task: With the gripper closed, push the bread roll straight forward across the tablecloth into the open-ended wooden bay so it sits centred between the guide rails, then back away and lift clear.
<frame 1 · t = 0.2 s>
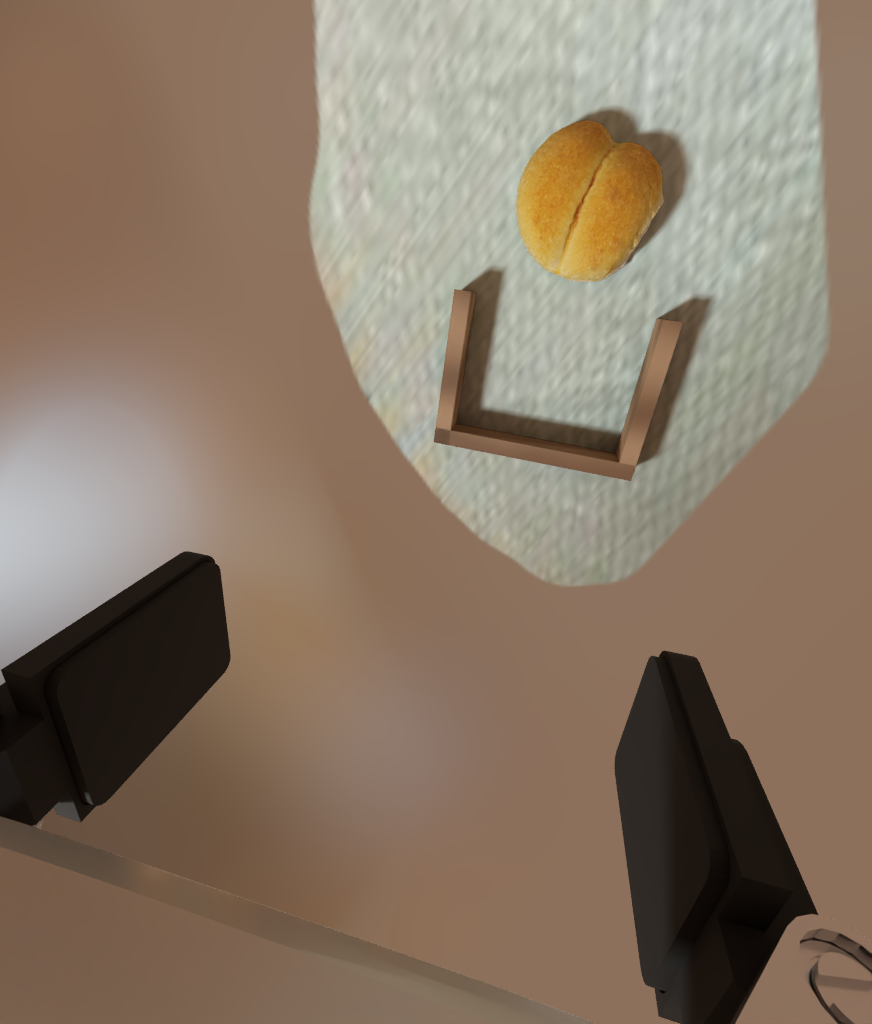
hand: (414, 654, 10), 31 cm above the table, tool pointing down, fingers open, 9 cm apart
bread roll: (585, 210, 32), on the table
bay: (548, 375, 36), on the table
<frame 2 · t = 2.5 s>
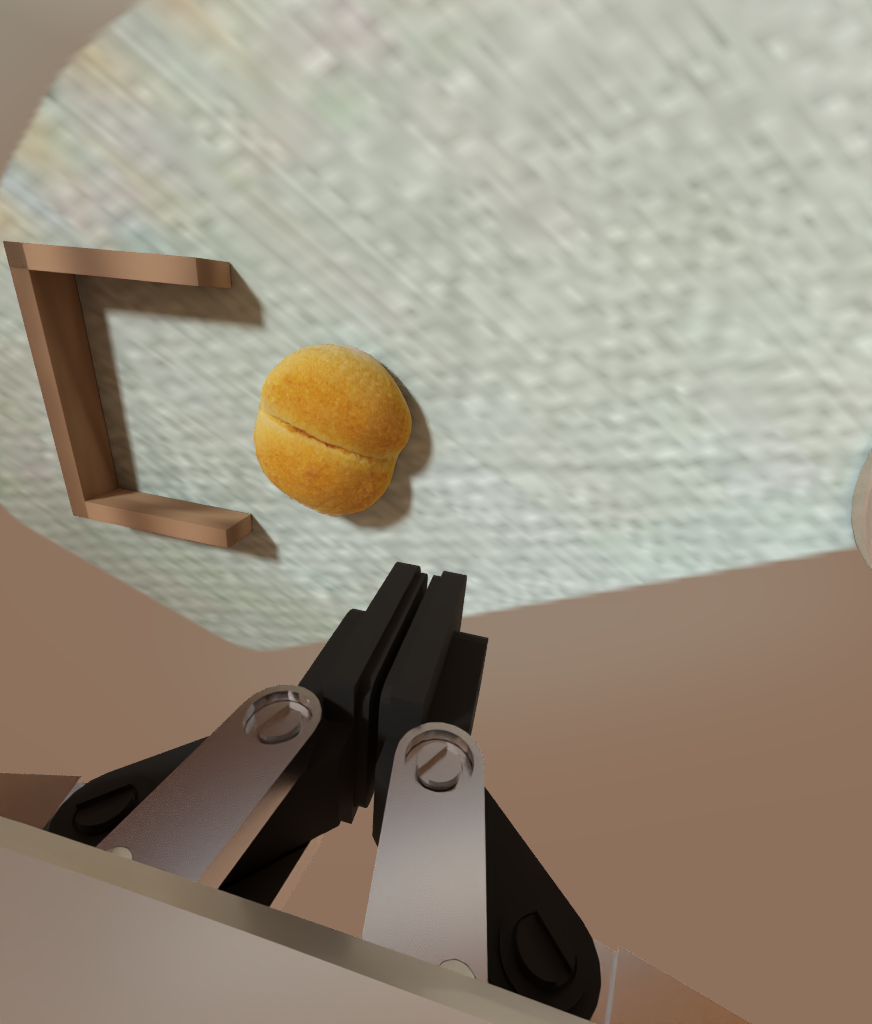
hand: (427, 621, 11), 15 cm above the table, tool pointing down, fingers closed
bread roll: (342, 428, 27), on the table
bay: (167, 401, 28), on the table
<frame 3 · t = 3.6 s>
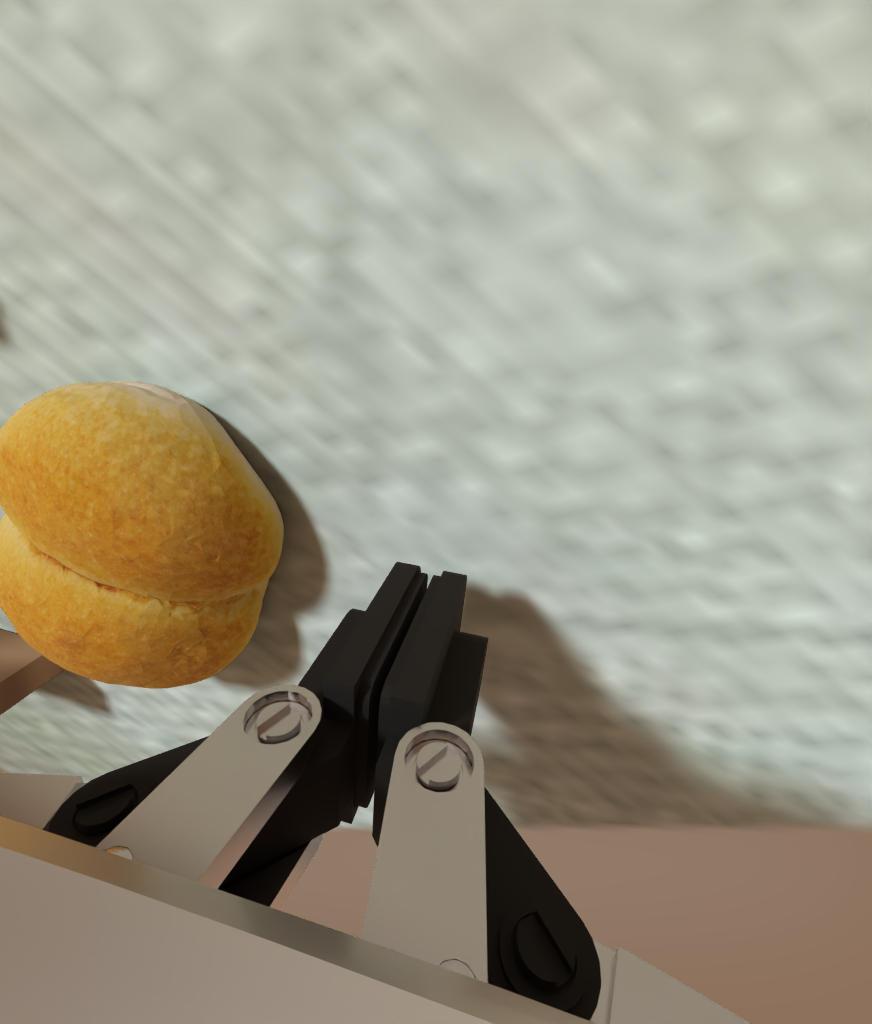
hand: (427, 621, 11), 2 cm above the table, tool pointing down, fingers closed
bread roll: (177, 524, 15), on the table
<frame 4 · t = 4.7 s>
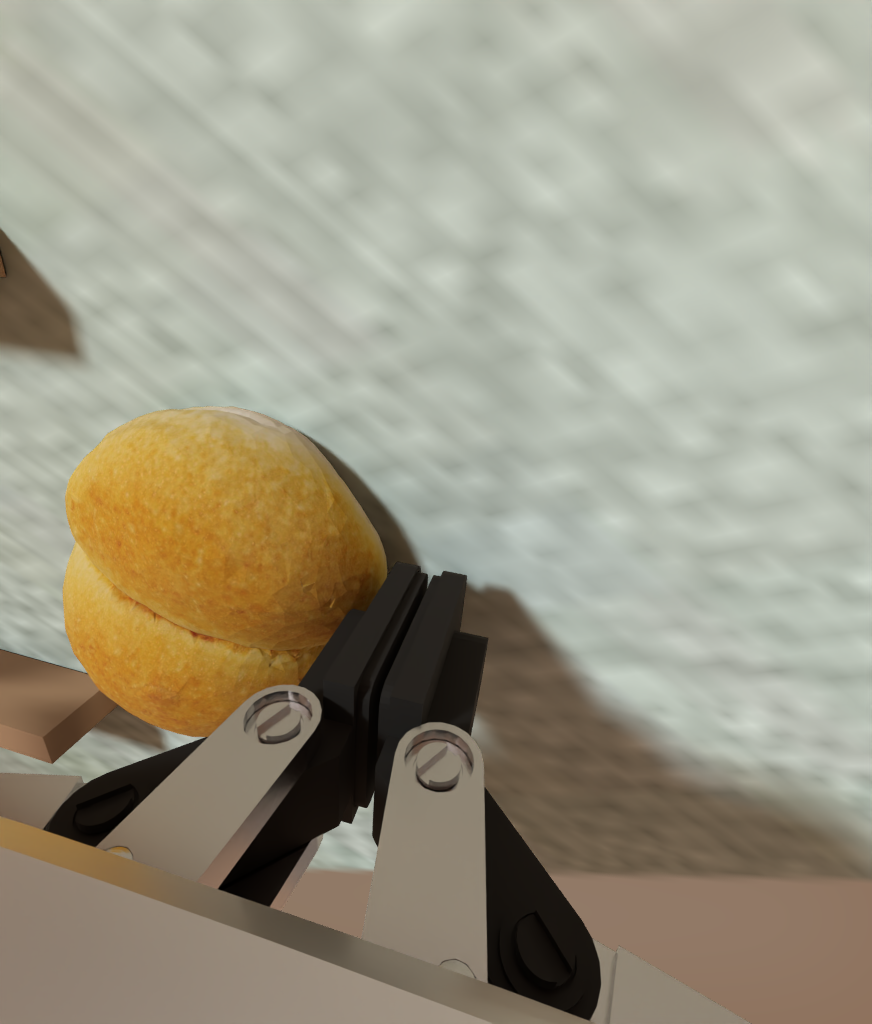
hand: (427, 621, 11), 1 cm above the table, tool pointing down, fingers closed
bread roll: (255, 556, 14), on the table, touching gripper
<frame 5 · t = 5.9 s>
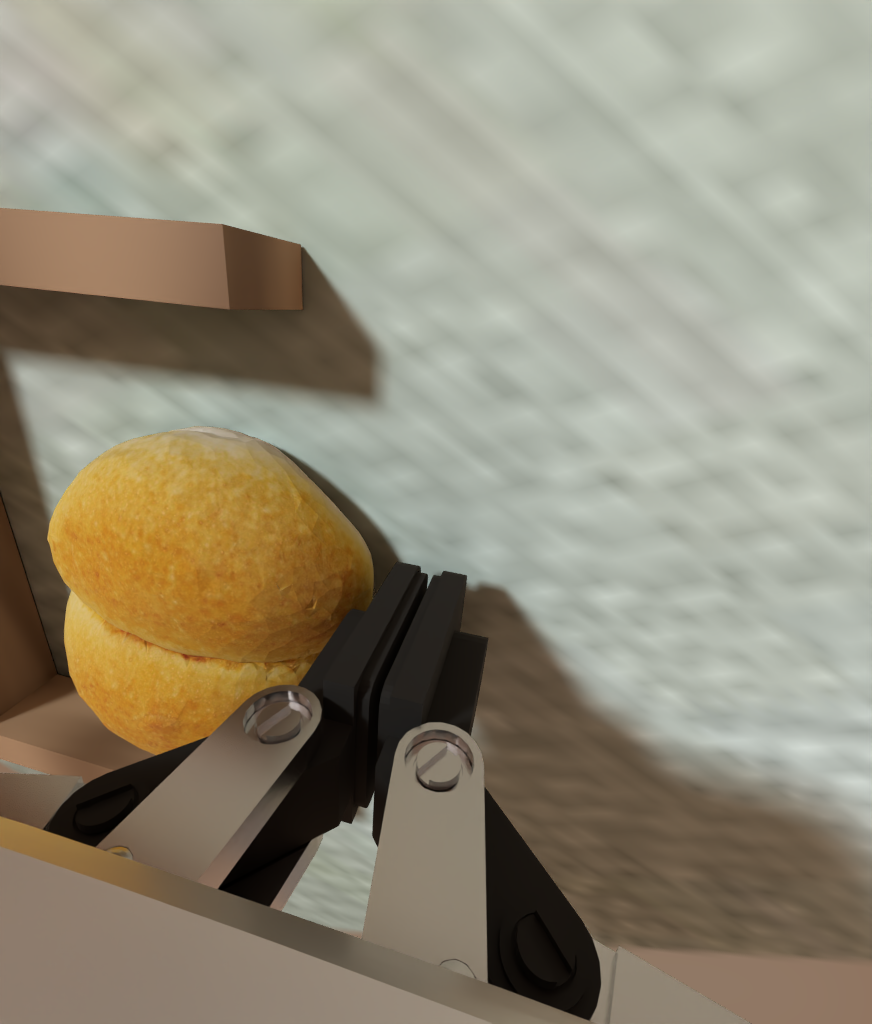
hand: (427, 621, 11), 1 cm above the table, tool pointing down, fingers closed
bread roll: (249, 577, 14), on the table
bay: (147, 539, 13), on the table
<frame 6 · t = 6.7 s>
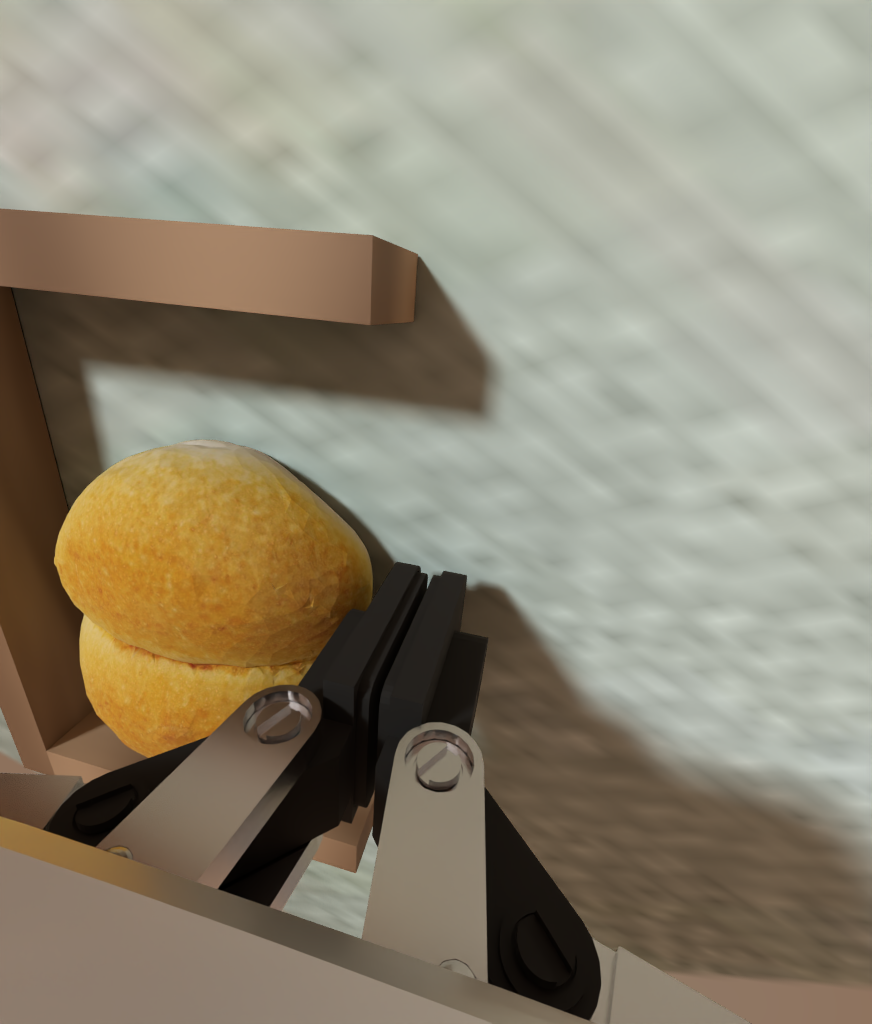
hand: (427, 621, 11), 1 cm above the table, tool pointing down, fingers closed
bread roll: (254, 587, 14), on the table
bay: (223, 556, 13), on the table
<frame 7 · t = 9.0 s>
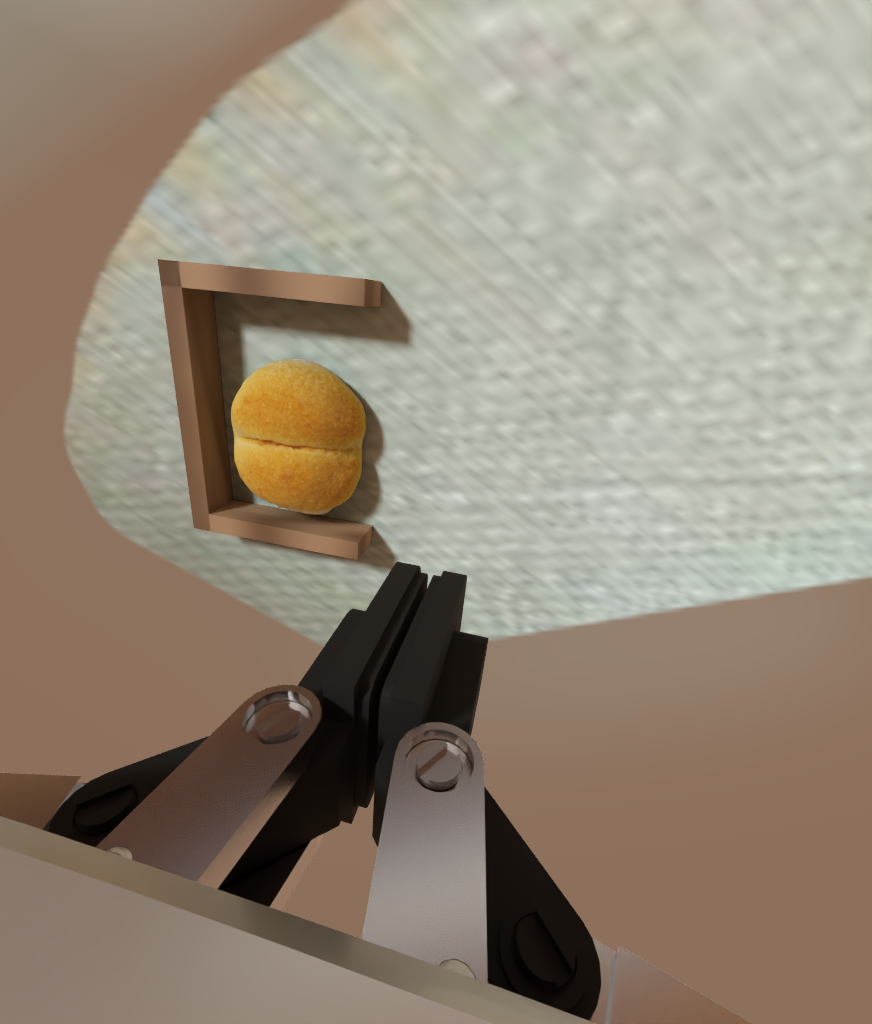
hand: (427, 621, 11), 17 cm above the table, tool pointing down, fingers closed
bread roll: (310, 435, 29), on the table
bay: (297, 415, 28), on the table
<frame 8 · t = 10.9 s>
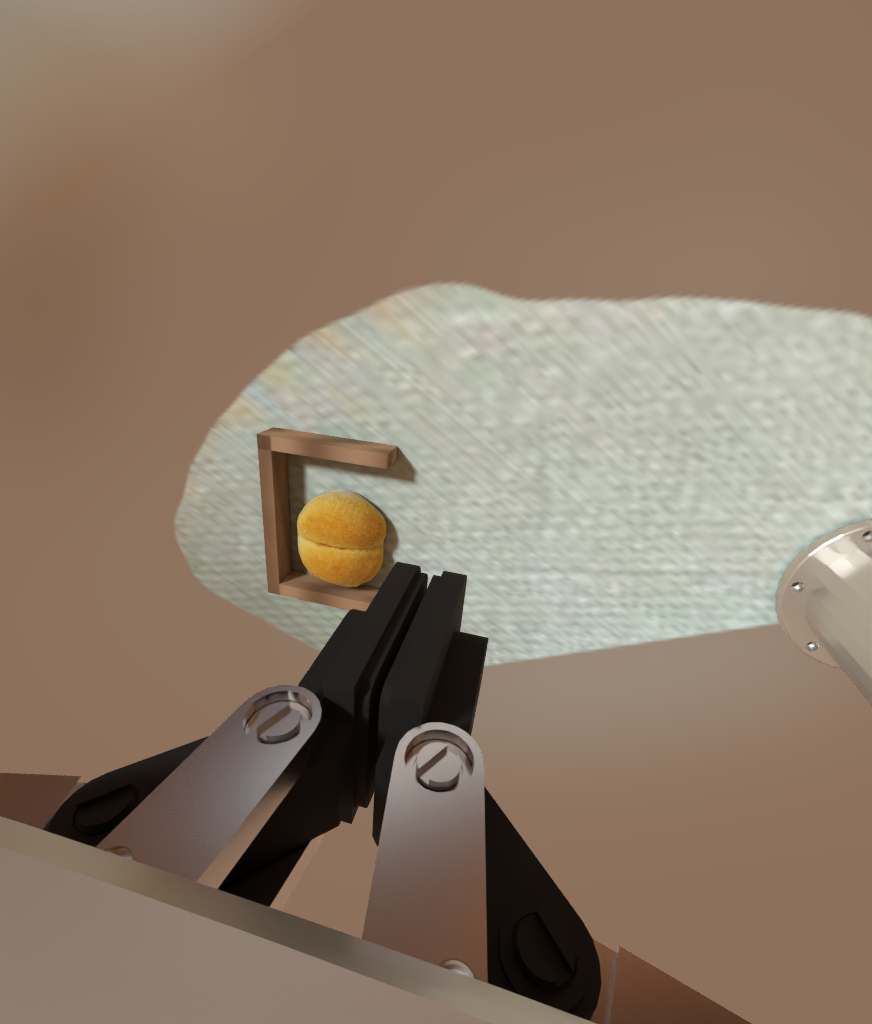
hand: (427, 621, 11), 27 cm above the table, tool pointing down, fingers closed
bread roll: (348, 532, 44), on the table
bay: (340, 519, 43), on the table
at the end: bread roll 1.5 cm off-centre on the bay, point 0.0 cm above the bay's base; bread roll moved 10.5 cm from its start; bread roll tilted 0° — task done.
